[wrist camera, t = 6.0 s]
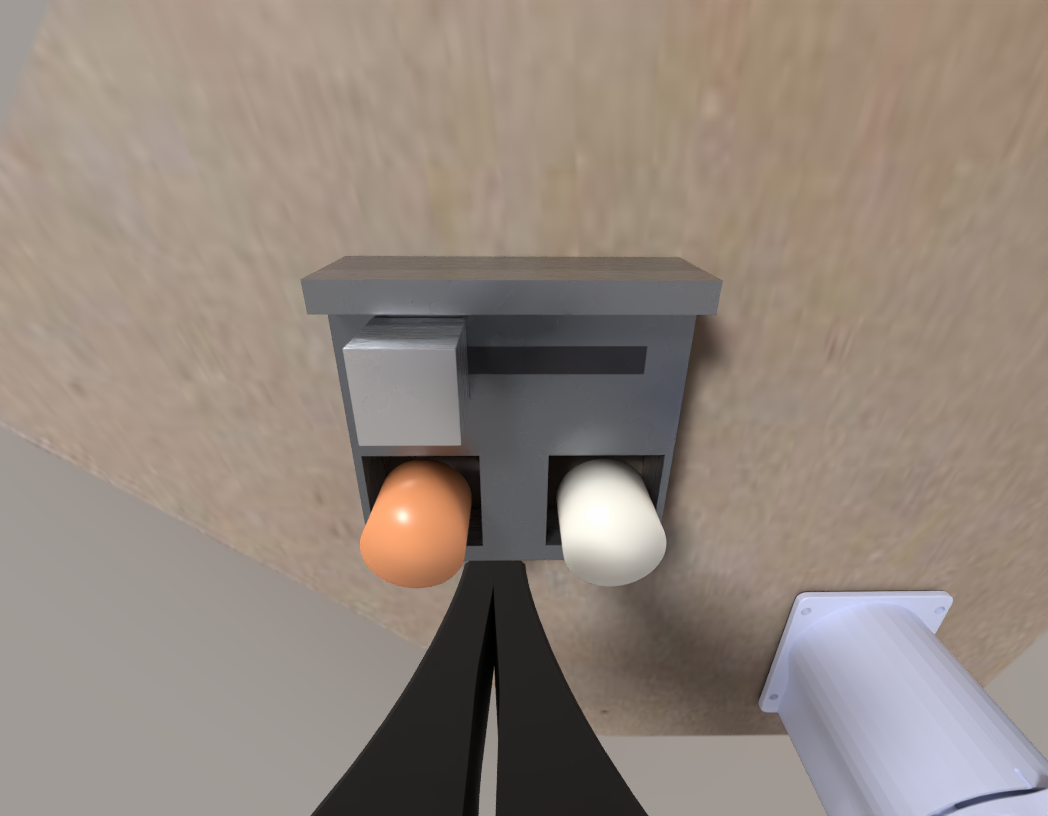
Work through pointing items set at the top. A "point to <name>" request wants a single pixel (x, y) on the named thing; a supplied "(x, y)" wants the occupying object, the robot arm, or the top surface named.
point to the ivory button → (608, 523)
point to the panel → (534, 370)
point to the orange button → (418, 525)
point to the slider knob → (409, 381)
